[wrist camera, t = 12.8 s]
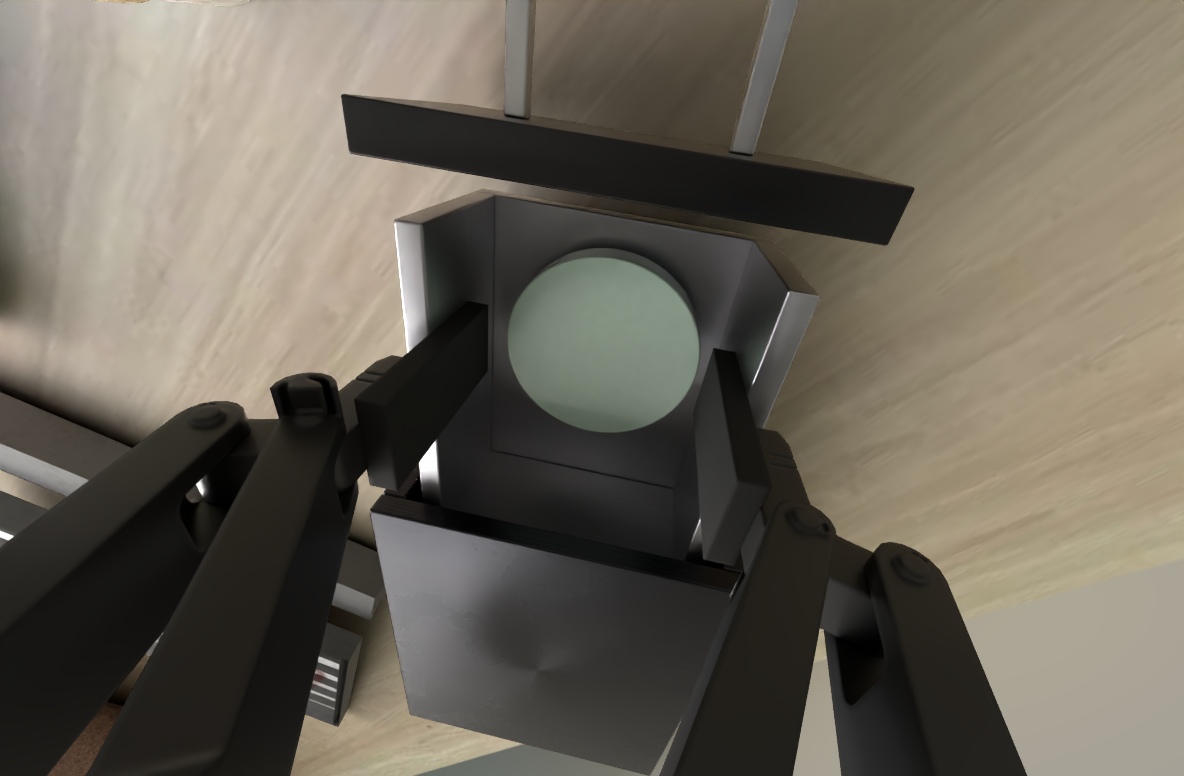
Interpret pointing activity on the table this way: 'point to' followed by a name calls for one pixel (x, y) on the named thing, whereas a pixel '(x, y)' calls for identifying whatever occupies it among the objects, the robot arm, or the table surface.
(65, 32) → the table surface
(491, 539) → the cabinet
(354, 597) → the shutter
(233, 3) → the coffee cup
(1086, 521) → the table surface
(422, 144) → the drawer
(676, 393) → the plate
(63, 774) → the sphere
